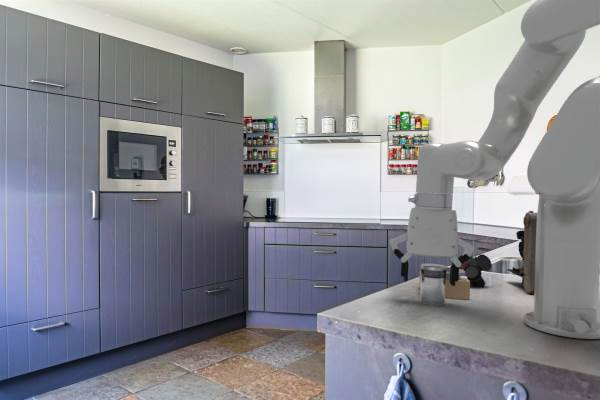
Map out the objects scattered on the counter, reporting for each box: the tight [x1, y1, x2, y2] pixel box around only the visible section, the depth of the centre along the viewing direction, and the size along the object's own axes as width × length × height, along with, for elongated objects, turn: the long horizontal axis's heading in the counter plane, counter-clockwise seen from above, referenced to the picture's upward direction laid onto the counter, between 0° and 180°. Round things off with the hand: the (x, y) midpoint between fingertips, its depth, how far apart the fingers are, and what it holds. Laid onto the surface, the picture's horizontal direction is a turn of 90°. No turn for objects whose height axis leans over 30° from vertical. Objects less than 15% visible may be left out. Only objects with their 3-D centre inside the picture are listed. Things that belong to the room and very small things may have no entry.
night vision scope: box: [459, 253, 493, 288], centre depth 112 cm, size 8×18×10 cm
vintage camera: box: [506, 210, 537, 295], centre depth 105 cm, size 10×16×20 cm, turn 174°
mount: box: [418, 266, 471, 300], centre depth 98 cm, size 10×10×6 cm
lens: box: [419, 263, 447, 307], centre depth 89 cm, size 5×5×8 cm
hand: (428, 282), depth 89 cm, fingers open, 9 cm apart
